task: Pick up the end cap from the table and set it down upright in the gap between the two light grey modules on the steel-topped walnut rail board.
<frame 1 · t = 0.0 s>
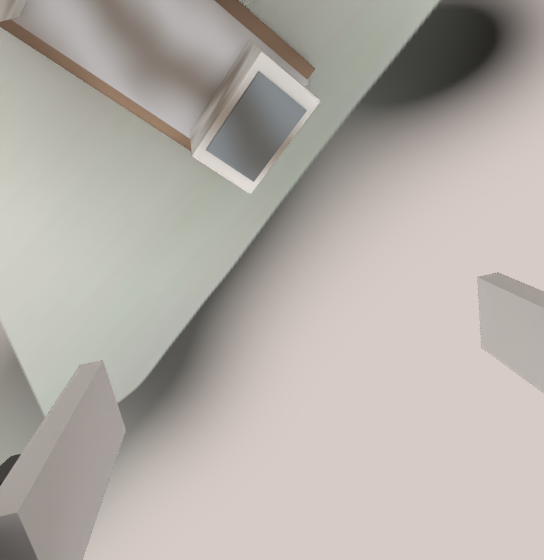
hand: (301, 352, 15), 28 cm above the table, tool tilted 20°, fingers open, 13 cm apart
rail board: (142, 25, 33), on the table
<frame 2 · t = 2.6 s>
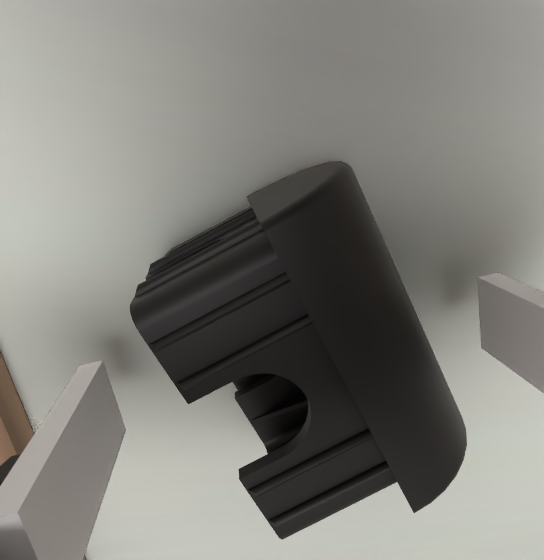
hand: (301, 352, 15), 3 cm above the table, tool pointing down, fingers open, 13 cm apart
end cap: (292, 307, 19), on the table
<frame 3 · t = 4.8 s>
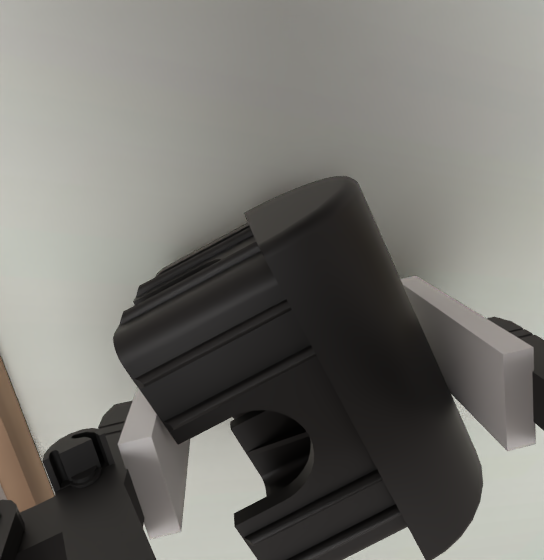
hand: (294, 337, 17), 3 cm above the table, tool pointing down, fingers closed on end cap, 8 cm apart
end cap: (292, 329, 17), point 2 cm above the table, touching gripper
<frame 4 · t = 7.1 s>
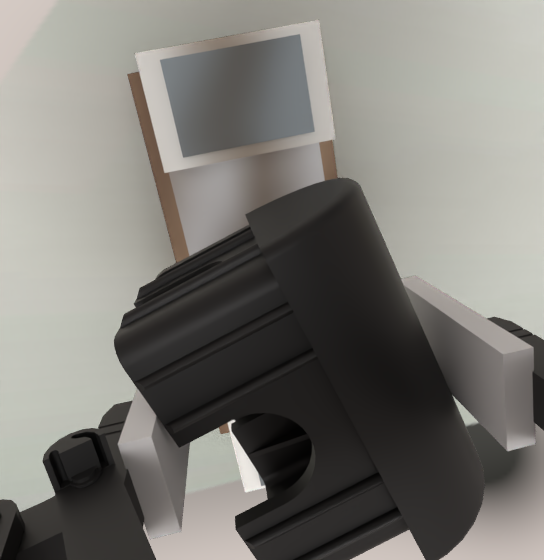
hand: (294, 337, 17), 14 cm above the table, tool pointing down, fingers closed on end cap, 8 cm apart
end cap: (293, 331, 17), point 14 cm above the table, touching gripper
rail board: (261, 253, 30), on the table
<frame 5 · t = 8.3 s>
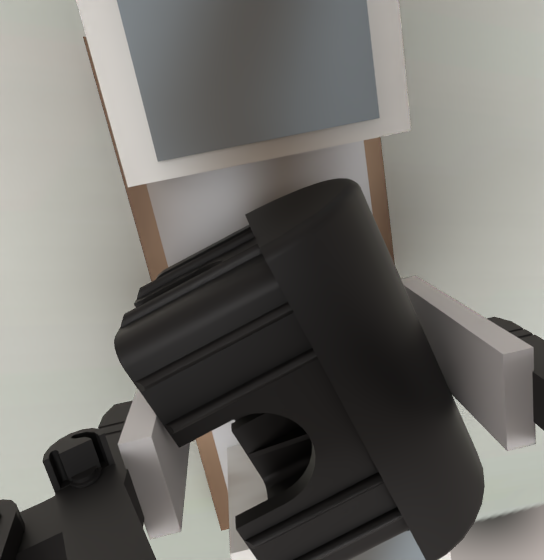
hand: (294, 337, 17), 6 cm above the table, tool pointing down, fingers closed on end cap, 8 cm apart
end cap: (293, 331, 17), point 5 cm above the table, touching gripper
rail board: (277, 290, 22), on the table
when the fingers open (4 cm above the table, at t = 9.5 s): end cap drops 1 cm, resting on rail board.
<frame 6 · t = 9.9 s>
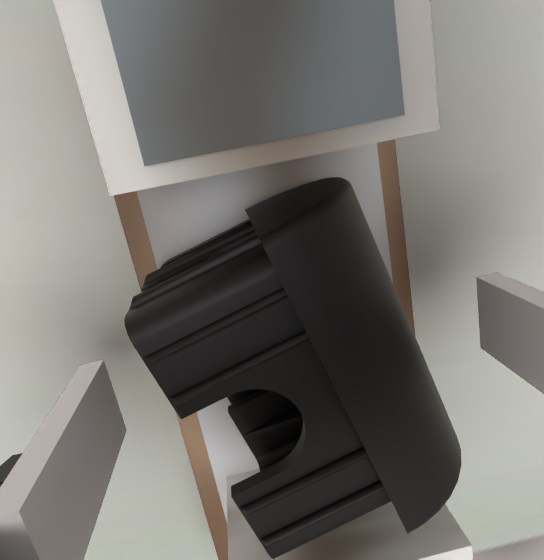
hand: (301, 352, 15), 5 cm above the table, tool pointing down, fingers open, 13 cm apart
end cap: (287, 321, 18), point 2 cm above the table, touching rail board
rail board: (280, 304, 20), on the table
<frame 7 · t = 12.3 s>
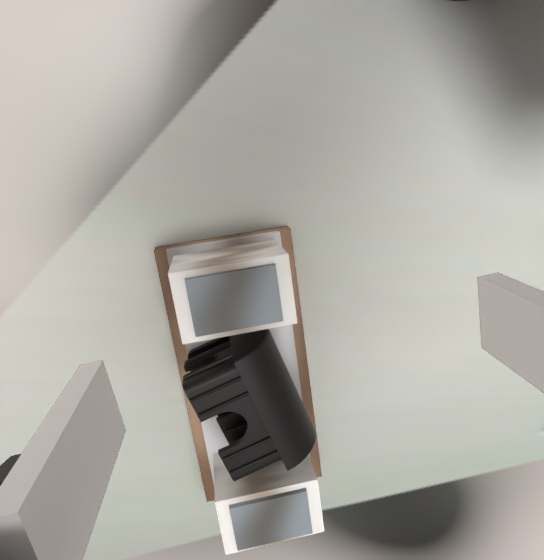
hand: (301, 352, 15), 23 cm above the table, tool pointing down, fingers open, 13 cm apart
end cap: (246, 377, 38), point 2 cm above the table, touching rail board
rail board: (244, 366, 40), on the table
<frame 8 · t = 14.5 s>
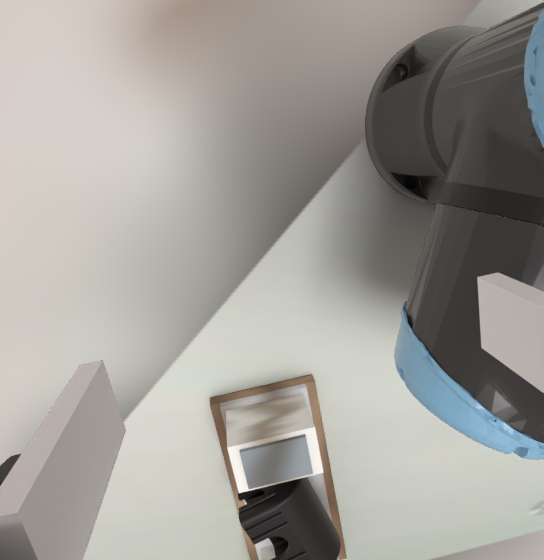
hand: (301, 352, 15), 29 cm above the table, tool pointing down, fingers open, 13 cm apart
end cap: (284, 491, 49), point 2 cm above the table, touching rail board
rail board: (281, 478, 51), on the table
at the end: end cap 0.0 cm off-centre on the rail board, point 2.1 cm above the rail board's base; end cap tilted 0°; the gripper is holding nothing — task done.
